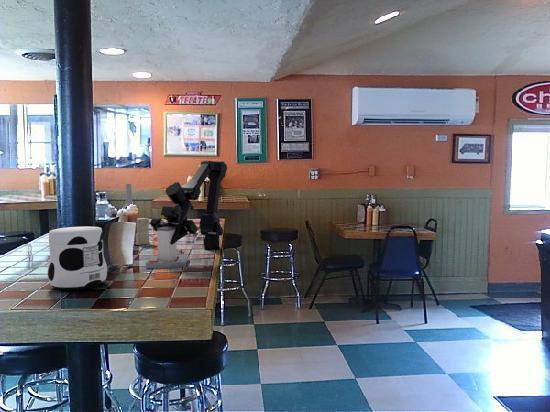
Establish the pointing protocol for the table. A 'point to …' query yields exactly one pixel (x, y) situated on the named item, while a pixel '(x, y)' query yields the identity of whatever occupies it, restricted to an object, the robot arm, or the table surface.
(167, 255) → the plug
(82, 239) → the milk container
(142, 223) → the skincare box
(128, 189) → the bottle
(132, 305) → the table surface
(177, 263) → the socket plate
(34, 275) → the table surface
